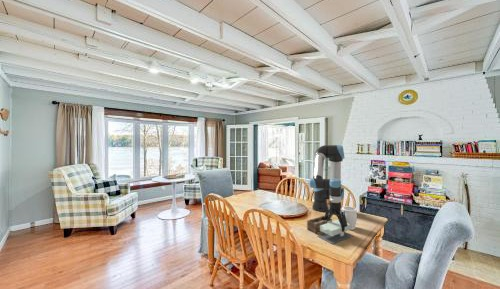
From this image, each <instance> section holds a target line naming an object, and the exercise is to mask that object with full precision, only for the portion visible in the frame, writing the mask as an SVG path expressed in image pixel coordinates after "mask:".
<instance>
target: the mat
mask: <svg viewBox="0 0 500 289" xmlns="http://www.w3.org/2000/svg"><path fill="white" fill-rule="evenodd" d="M316 236H317V238H320V239H321V240H323V241H325V242H327V243H329V244H331V245H336V244H338V243H341V242H342V241H345V240H347V239H350V238H352V237H354V235H353V234H350V233H349V232H347V231H345V232H344V235H343V236H340V233H339V234H337V235H334V236H330V235H328V234H326V233H324V232H323V233H322V234H319V235H316Z"/></svg>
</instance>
